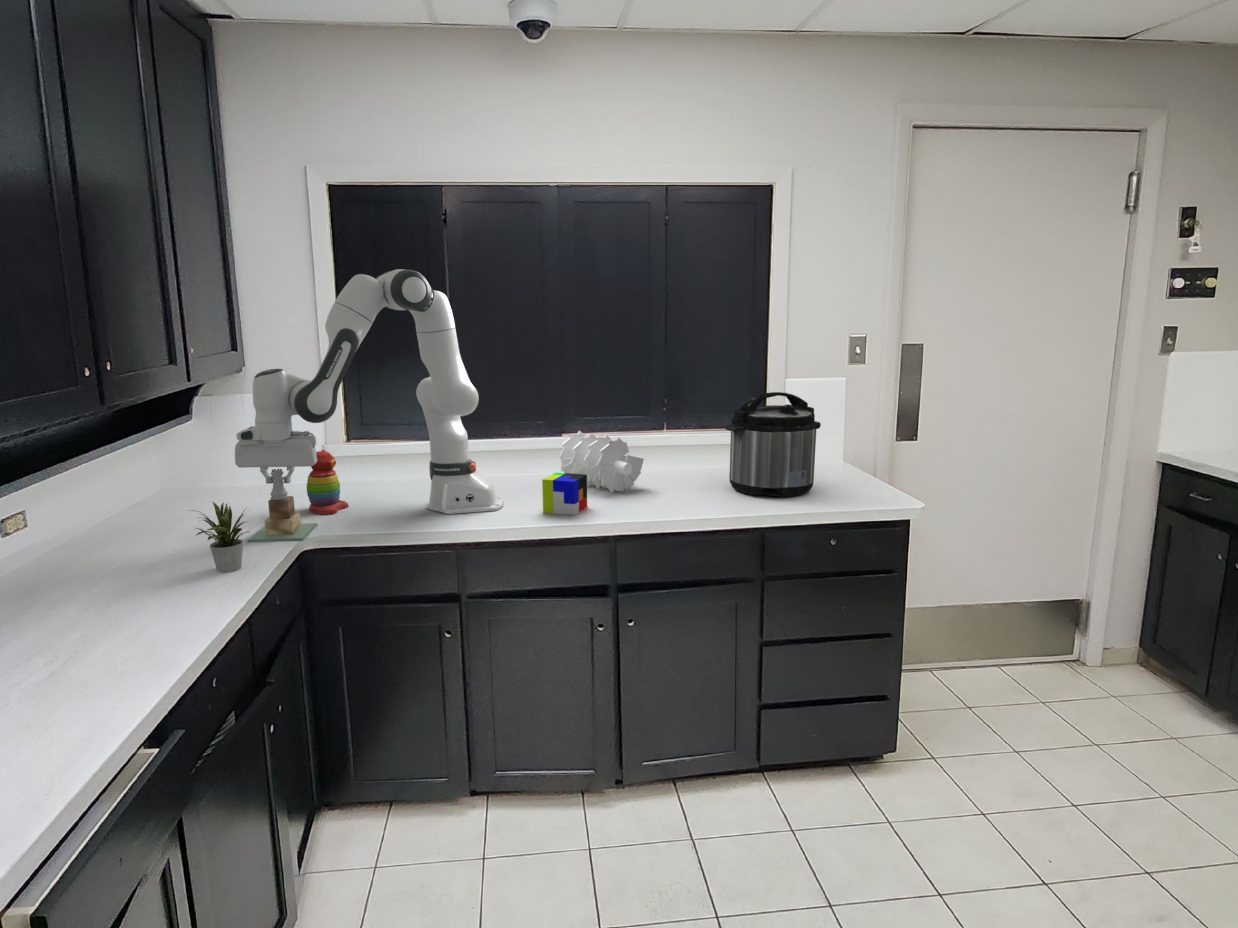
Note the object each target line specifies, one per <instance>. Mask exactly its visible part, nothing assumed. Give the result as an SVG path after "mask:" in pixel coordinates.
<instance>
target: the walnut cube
mask: <svg viewBox="0 0 1238 928" xmlns="http://www.w3.org/2000/svg"><path fill="white" fill-rule="evenodd" d="M294 498H295V497H294V496H293V495H288V498H287V499H285V500H279V501H274V500H272V499H271V498H270V499H268V501H267V502H268V512H269V513H268V514H269V517H270V519H290V518H291V517H292V516H293V515H294V514H295V513H296V511H295V510H296V508H295V500H294Z"/></svg>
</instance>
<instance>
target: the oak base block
mask: <svg viewBox="0 0 1238 928" xmlns="http://www.w3.org/2000/svg"><path fill="white" fill-rule="evenodd" d="M301 524H302V523H301V513H300V512H295V514H294V515H293V516H292V517H291V518H290V519H270V516H268V517H267V518H266V519H265V520H264V525H265V532H266V535H293V534H294V533H295V532H296V531H297V530H298V529H299V528H300V527H301Z"/></svg>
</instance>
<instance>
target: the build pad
mask: <svg viewBox="0 0 1238 928" xmlns="http://www.w3.org/2000/svg"><path fill="white" fill-rule="evenodd" d="M318 526H319V525H318V523H317V522H315V523H311V522H310V523H309V522H308V523H301V527H300V528H299V529H298V530H297V531H296V532H295V533H294V534H293V535H266V532H265V524H264V525H263V526H262V527H261V528H260V529H258V530H257V531H256V532H255V533H254V534H252V535H251V536H250V537H249V538H247V542H248V543H249V542H250V543H253V542H283V541H284V542H286V541H288V542H291V541H304V540H305V539H306V538H307V537H308V536H309V535H310V534H311V533H312V532H313V531H314V529H316V528H317V527H318Z"/></svg>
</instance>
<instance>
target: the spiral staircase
mask: <svg viewBox="0 0 1238 928" xmlns="http://www.w3.org/2000/svg"><path fill="white" fill-rule="evenodd" d="M561 445H562V450H561V452H560V454H559V457H558V458H559V459H560V460H561V462H560V463H561V464H560V465H561V466H560V472H563V473H571V474H586V475H587V488H589V487H590V486H595V487H596V489H600V487H602V488H604V489H608V490H609V491H610V492H611V493H613V492H614V491H618V492H624V491H625V490H627V489H628V488H630V487H632V486H634V485H635V482H636V480H637V479H639V476H640V475H641V473H642V472H641V471H642V467H643V464H644V460H645V459H644V458H642V457H638V456H633V455H629V454H628V453H629V452H630V450H629V447H628V444H627V441H626V440H625V441H624V440H622V439H621V438H620V437H616V439H611V438H610V436H608V434H605V435H604V437H603V436H602V437H601V436H599V435H594V434H592V433H590V432H589V434H588V433H586V434H585V433H584V432H582V431H581V430H578V431H577V433H569V438H568V439H566V440H565V441H564V442H563V443H561Z"/></svg>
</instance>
